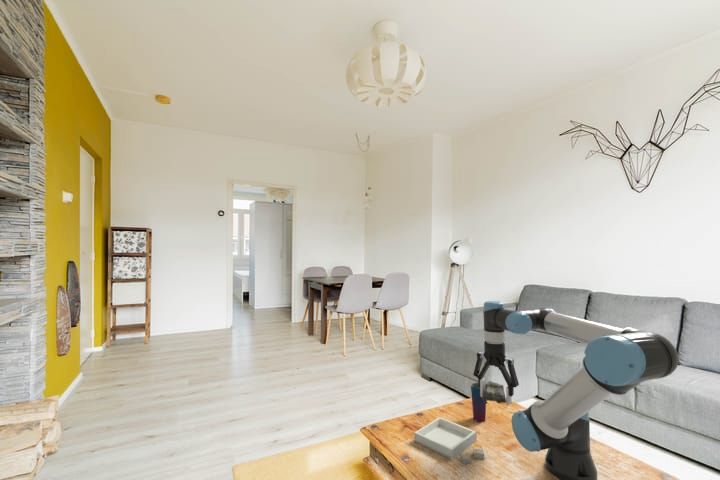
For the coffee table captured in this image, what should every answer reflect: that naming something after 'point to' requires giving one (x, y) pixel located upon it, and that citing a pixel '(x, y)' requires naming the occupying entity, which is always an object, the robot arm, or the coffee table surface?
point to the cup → (478, 403)
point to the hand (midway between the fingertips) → (495, 399)
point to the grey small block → (478, 453)
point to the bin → (445, 437)
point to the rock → (494, 393)
